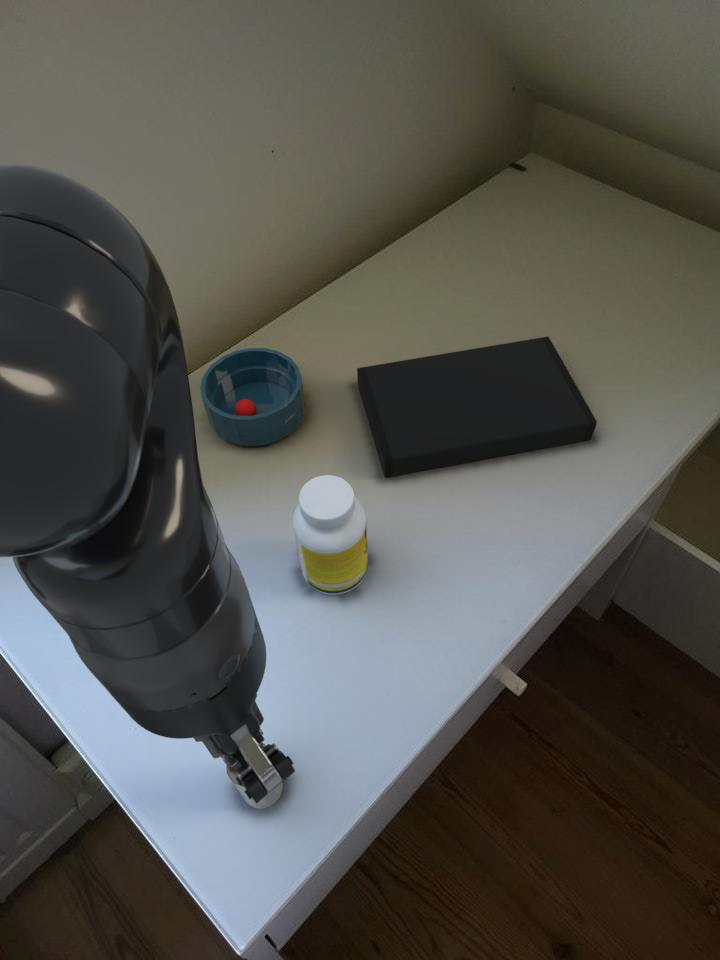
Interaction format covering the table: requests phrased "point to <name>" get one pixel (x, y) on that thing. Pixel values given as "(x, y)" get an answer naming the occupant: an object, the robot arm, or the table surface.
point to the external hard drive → (472, 405)
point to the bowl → (253, 396)
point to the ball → (245, 408)
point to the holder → (262, 804)
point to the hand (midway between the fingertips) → (236, 741)
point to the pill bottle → (331, 535)
